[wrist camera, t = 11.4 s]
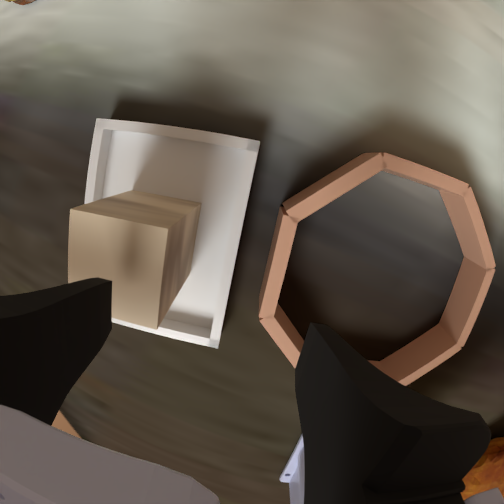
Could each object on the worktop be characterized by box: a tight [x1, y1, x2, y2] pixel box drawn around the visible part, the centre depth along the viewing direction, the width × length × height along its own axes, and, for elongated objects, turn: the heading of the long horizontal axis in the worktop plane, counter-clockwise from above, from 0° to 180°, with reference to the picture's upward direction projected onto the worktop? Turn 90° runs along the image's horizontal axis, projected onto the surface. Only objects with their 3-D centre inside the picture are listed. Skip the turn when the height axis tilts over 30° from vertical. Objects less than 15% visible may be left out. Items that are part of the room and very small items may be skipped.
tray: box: [85, 118, 260, 348], centre depth 19 cm, size 13×10×2 cm
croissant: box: [461, 437, 504, 500], centre depth 23 cm, size 14×16×8 cm
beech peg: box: [68, 190, 202, 330], centre depth 16 cm, size 4×4×7 cm
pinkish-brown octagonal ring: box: [259, 152, 496, 386], centre depth 19 cm, size 15×15×3 cm
